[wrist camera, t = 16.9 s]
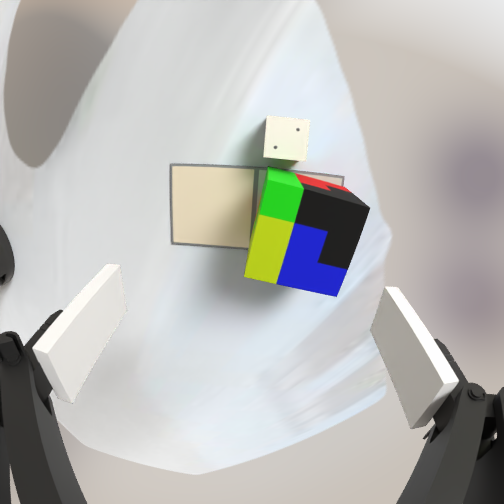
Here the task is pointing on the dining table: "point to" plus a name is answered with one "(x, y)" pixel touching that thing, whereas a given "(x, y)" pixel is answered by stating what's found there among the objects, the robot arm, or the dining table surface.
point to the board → (219, 202)
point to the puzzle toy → (304, 232)
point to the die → (286, 138)
